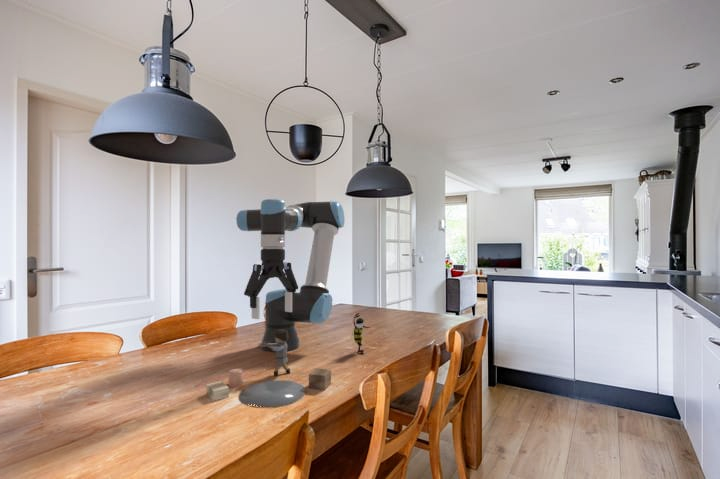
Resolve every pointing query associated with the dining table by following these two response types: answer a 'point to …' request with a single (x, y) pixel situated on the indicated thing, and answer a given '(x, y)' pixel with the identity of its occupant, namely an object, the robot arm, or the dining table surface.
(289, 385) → the plate
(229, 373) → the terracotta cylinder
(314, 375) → the walnut block
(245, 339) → the dining table surface
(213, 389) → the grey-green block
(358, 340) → the toy
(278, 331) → the toy
